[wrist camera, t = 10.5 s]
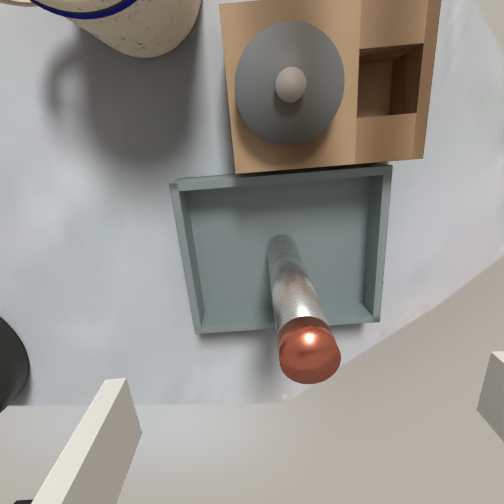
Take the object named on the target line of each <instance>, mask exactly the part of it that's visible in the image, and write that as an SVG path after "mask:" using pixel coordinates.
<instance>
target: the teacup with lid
mask: <svg viewBox="0 0 504 504" xmlns="http://www.w3.org/2000/svg"><path fill="white" fill-rule="evenodd" d="M0 3H4V4H9V5H14V6H24V7H34V6H39V7H41V8H43V9H45V10H47V11H50V12H52V13H54V14H57V15H61V16H64V17H66V18H67V19H69V20H70V21H72V22H73V23H75V24H76V25H78V26H80V27H81V28H83V29H84V30H86V31H87V32H89V33H90V34H92V35H93V36H95V37H96V38H98V39H99V40H101V41H103V42H104V43H106V44H107V45H109V46H110V47H112V48H113V49H115V50H117V51H119V52H121V53H123V54H126V55H129V56H133V57H139V58H151V57H157V56H160V55H163V54H165V53H168V52H169V51H171V50H173V49H174V48H176V47H177V46H178V45H179V44H180V43H181V42H182V41H183V40H184V39H185V38H186V37H187V35H188V34H189V32H190V31H191V29H192V27H193V25H194V23H195V21H196V18H197V15H198V12H199V8H200V3H201V0H0Z"/></svg>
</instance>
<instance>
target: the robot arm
mask: <svg viewBox="0 0 504 504" xmlns="http://www.w3.org/2000/svg"><path fill="white" fill-rule="evenodd" d="M27 377H28V360H27V356H26V353H25V350H24V348H23V346H22V344H21V342H20V340H19V339H18V337H17V336H16V334H15V333H14V332H13V330H12V329H11V328H10V327H9V326H8V325H7V324H6V323H5V322H4V321H3V320H2V319H1V318H0V412H2V411H3V410H4V409H5V408H6V407H7V406H8V405H9V404H10V403H11V402H12V400H13V399H14V398H15V397H16V396H17V395H18V394H19V393H20V392H21V390H22V389H23V387H24V386H25V383H26V381H27ZM477 411H478V412H479V413H480V414H481V415H482V417H483V418H484V419H485V420H486V421H487V423H488V424H489V425H490V426H491V427H492V429H493V430H494V431H495V432H496V433H497V434H498V436H499V437H500V438H501V439H502V440H503V442H504V351H500V352H491V355H490V359H489V363H488V367H487V371H486V375H485V379H484V383H483V387H482V391H481V395H480V399H479V403H478V407H477ZM141 434H142V431H141V428H140V424H139V421H138V417H137V414H136V410H135V407H134V404H133V400H132V397H131V393H130V390H129V386H128V383H127V380H126V378H121V379H107V380H105V381H104V383H103V384H102V386H101V388H100V389H99V391H98V393H97V394H96V396H95V398H94V399H93V401H92V403H91V404H90V406H89V408H88V410H87V411H86V413H85V414H84V416H83V418H82V420H81V421H80V423H79V425H78V426H77V428H76V429H75V431H74V433H73V434H72V436H71V438H70V439H69V441H68V443H67V445H66V446H65V448H64V450H63V451H62V453H61V455H60V456H59V458H58V460H57V461H56V463H55V465H54V466H53V468H52V470H51V471H50V473H49V475H48V476H47V478H46V480H45V481H44V483H43V485H42V486H41V488H40V490H39V491H38V493H37V495H36V497H35V498H34V500H20V501H16V502H15V503H14V504H116V503H117V500H118V497H119V494H120V492H121V489H122V486H123V483H124V480H125V478H126V475H127V472H128V470H129V467H130V464H131V461H132V459H133V456H134V453H135V450H136V448H137V445H138V442H139V439H140V436H141Z"/></svg>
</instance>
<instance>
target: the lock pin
mask: <svg viewBox="0 0 504 504" xmlns="http://www.w3.org/2000/svg"><path fill="white" fill-rule="evenodd" d="M267 256H268V265H269V274H270V282H271V291H272V300H273V308H274V317H275V326H276V334H277V343H278V352H279V360H280V366H281V369H282V371H283V373H284V374H285V375H286V376H287V377H288V378H289V379H291V380H293V381H295V382H298V383H302V384H315V383H319V382H322V381H324V380H326V379H328V378H329V377H331V376H332V375H333V374H334V373H335V372H336V371H337V369H338V367H339V365H340V361H341V355H340V351H339V349H338V346H337V344H336V341H335V339H334V336H333V334H332V331H331V329H330V326H329V324H328V321H327V319H326V317H325V314H324V312H323V309H322V307H321V304H320V302H319V299H318V297H317V294H316V292H315V289H314V287H313V284H312V282H311V280H310V277H309V275H308V272H307V270H306V267H305V265H304V262H303V260H302V257H301V255H300V252H299V250H298V247H297V245H296V242H295V241H294V239H293V238H291V237H290V236H288V235H284V234H280V235H276V236H274V237H273V238H271V239H270V241H269V242H268V244H267Z"/></svg>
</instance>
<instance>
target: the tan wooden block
mask: <svg viewBox="0 0 504 504" xmlns="http://www.w3.org/2000/svg"><path fill="white" fill-rule="evenodd" d="M440 8H441V0H257V1H247V2H237V3H227V4H219V9H220V20H221V30H222V40H223V51H224V61H225V71H226V82H227V92H228V102H229V113H230V123H231V134H232V144H233V154H234V165H235V174H239V173H251V172H264V171H276V170H288V169H300V168H313V167H325V166H337V165H350V164H362V163H374V162H386V161H399V160H411V159H423V154H424V145H425V137H426V128H427V119H428V111H429V102H430V94H431V85H432V76H433V68H434V59H435V51H436V42H437V33H438V25H439V16H440Z"/></svg>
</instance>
